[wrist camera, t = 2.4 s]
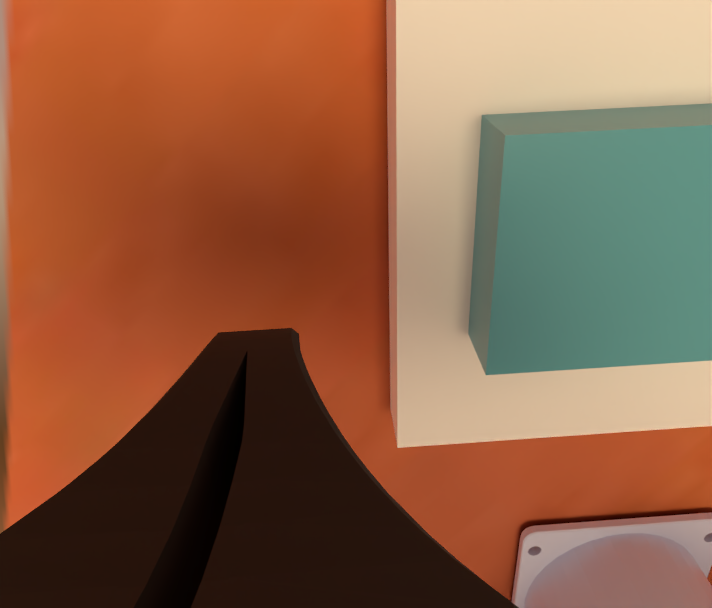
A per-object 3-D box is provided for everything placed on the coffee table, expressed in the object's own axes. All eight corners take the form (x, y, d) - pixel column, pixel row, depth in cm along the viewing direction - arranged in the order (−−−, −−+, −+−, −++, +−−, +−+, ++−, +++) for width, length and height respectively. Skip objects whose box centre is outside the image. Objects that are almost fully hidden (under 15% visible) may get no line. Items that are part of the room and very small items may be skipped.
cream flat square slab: (791, 380, 21) (834, 417, 20) (390, 407, 21) (397, 447, 19) (971, -100, 15) (1061, -109, 13) (385, -79, 14) (395, -84, 12)
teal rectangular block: (814, 312, 18) (869, 350, 16) (468, 333, 17) (485, 375, 16) (894, 94, 15) (972, 112, 13) (482, 114, 14) (505, 135, 13)
